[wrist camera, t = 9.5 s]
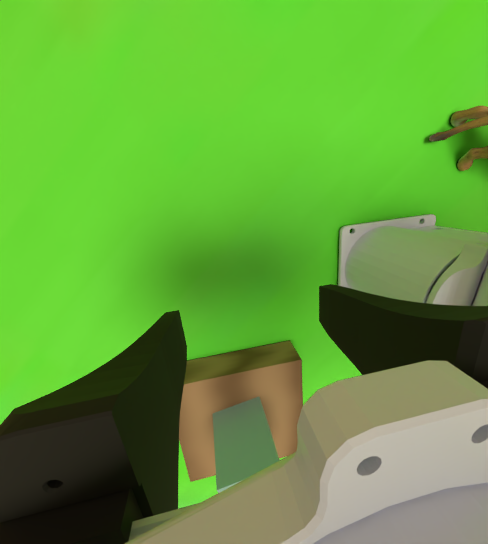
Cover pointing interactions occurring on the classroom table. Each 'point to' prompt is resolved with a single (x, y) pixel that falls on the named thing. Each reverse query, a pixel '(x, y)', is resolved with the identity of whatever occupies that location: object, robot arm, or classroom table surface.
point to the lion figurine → (458, 120)
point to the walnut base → (239, 399)
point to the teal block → (242, 443)
